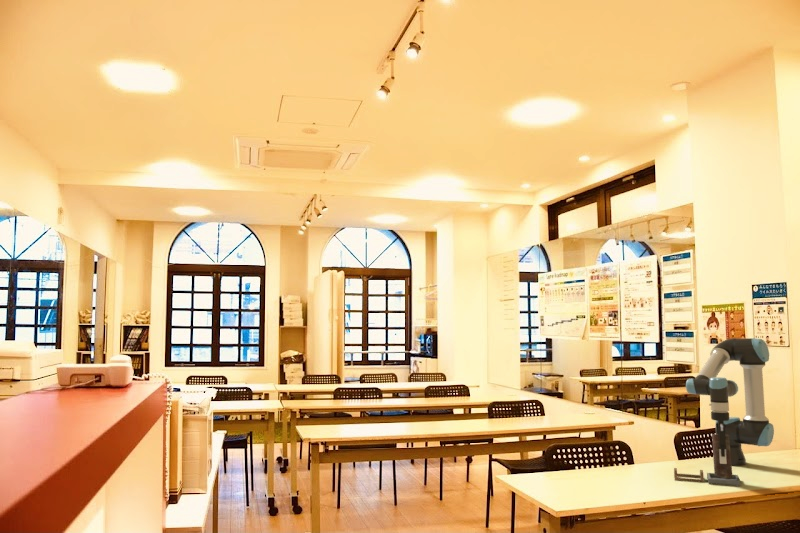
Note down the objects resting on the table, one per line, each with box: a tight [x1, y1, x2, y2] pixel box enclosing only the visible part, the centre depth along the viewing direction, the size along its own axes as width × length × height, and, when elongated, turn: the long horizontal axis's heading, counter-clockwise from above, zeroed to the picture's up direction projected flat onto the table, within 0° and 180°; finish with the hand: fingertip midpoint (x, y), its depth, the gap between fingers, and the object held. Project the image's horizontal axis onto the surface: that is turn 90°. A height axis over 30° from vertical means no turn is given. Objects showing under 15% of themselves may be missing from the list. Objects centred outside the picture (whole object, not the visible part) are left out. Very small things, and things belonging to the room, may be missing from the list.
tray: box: [706, 472, 742, 487], centre depth 294 cm, size 13×13×2 cm
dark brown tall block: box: [711, 433, 733, 479], centre depth 295 cm, size 8×7×20 cm
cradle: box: [673, 467, 705, 483], centre depth 301 cm, size 10×12×4 cm
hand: (722, 461), depth 295 cm, fingers closed on dark brown tall block, 7 cm apart
